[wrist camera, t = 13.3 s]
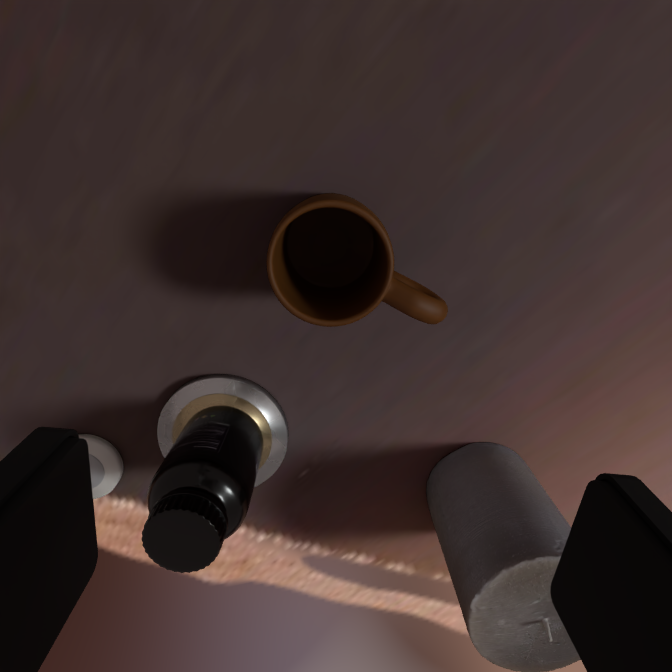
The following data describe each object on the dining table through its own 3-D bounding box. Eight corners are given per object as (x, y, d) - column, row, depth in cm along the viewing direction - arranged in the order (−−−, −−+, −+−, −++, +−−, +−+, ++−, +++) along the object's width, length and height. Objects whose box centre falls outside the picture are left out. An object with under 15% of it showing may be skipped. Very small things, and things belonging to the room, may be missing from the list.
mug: (448, 246, 35) (488, 268, 27) (401, 331, 38) (423, 378, 29) (305, 173, 34) (297, 171, 25) (264, 267, 36) (243, 296, 27)
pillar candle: (512, 536, 44) (600, 702, 30) (413, 522, 44) (455, 685, 29) (544, 448, 41) (658, 586, 27) (438, 432, 41) (499, 564, 26)
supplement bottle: (275, 462, 40) (252, 575, 29) (200, 480, 40) (149, 598, 29) (250, 392, 38) (214, 485, 26) (171, 412, 38) (103, 511, 27)
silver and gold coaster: (158, 369, 38) (153, 375, 37) (291, 378, 39) (290, 384, 38) (163, 482, 42) (159, 490, 41) (285, 488, 42) (284, 497, 41)
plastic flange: (50, 431, 40) (42, 439, 39) (121, 435, 40) (115, 443, 39) (58, 489, 42) (51, 498, 41) (125, 493, 42) (120, 502, 41)
